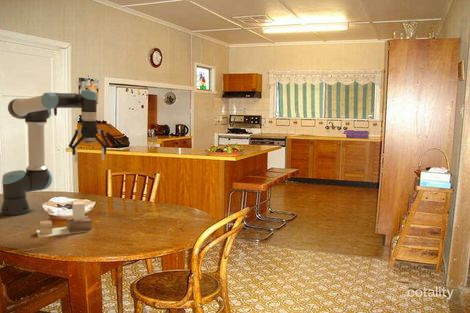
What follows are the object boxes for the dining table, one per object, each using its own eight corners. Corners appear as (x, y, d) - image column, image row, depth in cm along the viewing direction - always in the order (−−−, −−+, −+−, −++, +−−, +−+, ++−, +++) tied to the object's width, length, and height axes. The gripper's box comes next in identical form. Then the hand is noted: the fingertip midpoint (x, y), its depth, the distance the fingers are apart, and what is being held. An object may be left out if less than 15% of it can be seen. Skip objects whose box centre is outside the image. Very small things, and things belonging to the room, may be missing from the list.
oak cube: (40, 231, 208) (39, 221, 207) (51, 230, 210) (51, 220, 209) (41, 234, 203) (40, 224, 203) (52, 233, 206) (52, 223, 205)
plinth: (67, 227, 216) (66, 217, 215) (87, 225, 220) (87, 215, 220) (69, 232, 207) (69, 222, 206) (91, 230, 212) (91, 220, 211)
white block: (72, 218, 214) (72, 202, 213) (83, 217, 216) (82, 201, 215) (74, 220, 210) (73, 204, 209) (84, 219, 212) (84, 203, 211)
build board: (36, 231, 210) (36, 230, 210) (87, 226, 221) (87, 224, 221) (38, 238, 200) (38, 237, 199) (91, 232, 211) (91, 230, 211)
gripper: (64, 120, 213) (64, 162, 216) (115, 120, 224) (115, 161, 227) (62, 119, 220) (63, 160, 223) (112, 120, 231) (112, 159, 234)
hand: (89, 160), depth 225 cm, fingers open, 13 cm apart
